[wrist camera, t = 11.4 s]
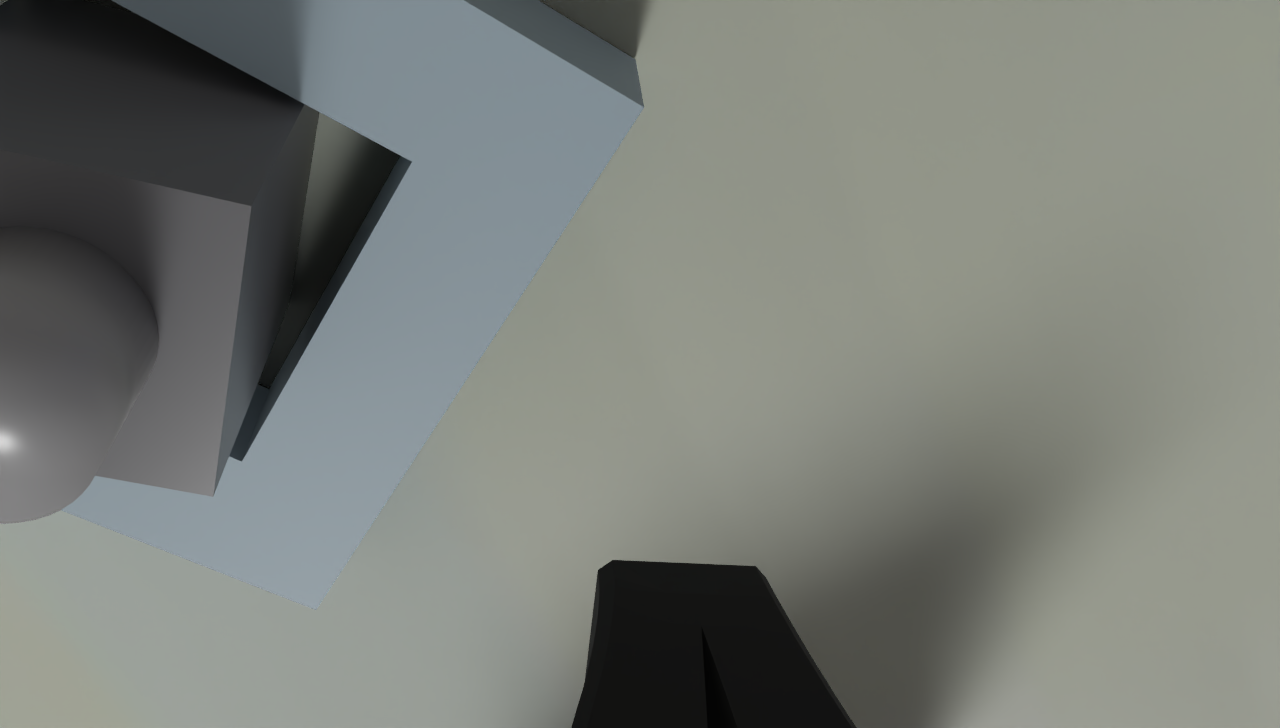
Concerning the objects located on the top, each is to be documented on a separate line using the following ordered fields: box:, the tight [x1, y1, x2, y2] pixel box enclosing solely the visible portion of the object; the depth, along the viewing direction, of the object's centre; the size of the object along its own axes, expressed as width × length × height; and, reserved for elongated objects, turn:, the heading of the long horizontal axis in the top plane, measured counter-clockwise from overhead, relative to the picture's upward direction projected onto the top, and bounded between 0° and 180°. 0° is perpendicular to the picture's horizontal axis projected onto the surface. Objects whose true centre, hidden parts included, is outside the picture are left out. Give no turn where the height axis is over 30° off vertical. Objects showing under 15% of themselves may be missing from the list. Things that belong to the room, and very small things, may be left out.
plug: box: [0, 0, 319, 524], centre depth 15 cm, size 4×4×7 cm
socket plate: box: [62, 0, 644, 610], centre depth 17 cm, size 10×10×2 cm
